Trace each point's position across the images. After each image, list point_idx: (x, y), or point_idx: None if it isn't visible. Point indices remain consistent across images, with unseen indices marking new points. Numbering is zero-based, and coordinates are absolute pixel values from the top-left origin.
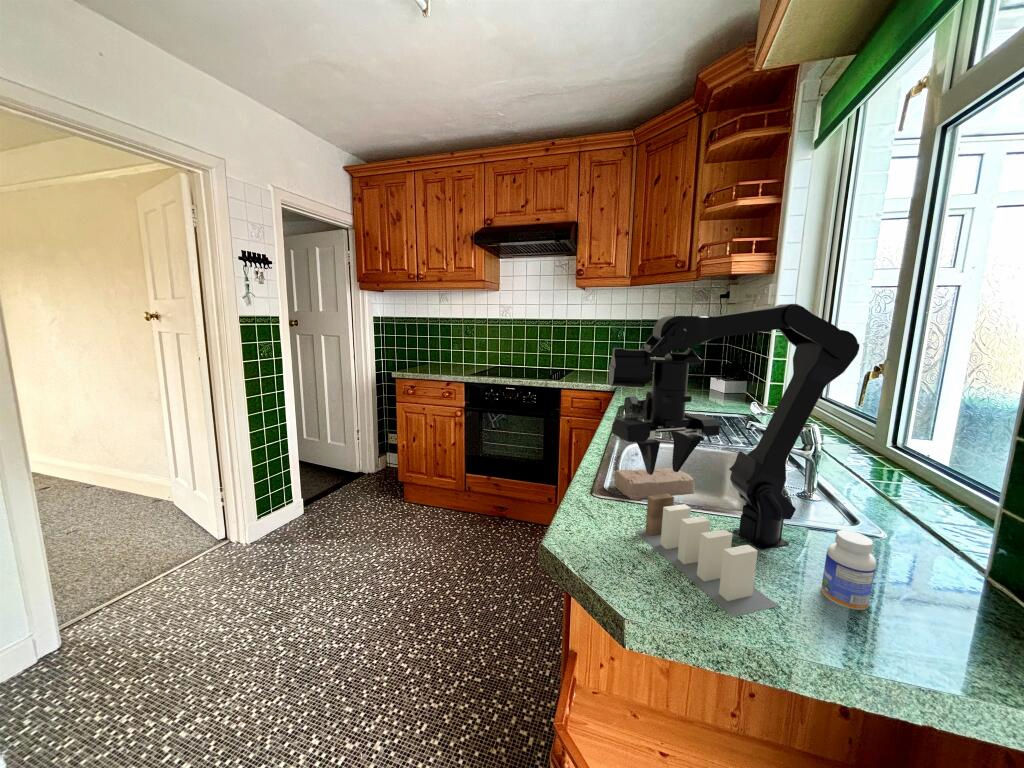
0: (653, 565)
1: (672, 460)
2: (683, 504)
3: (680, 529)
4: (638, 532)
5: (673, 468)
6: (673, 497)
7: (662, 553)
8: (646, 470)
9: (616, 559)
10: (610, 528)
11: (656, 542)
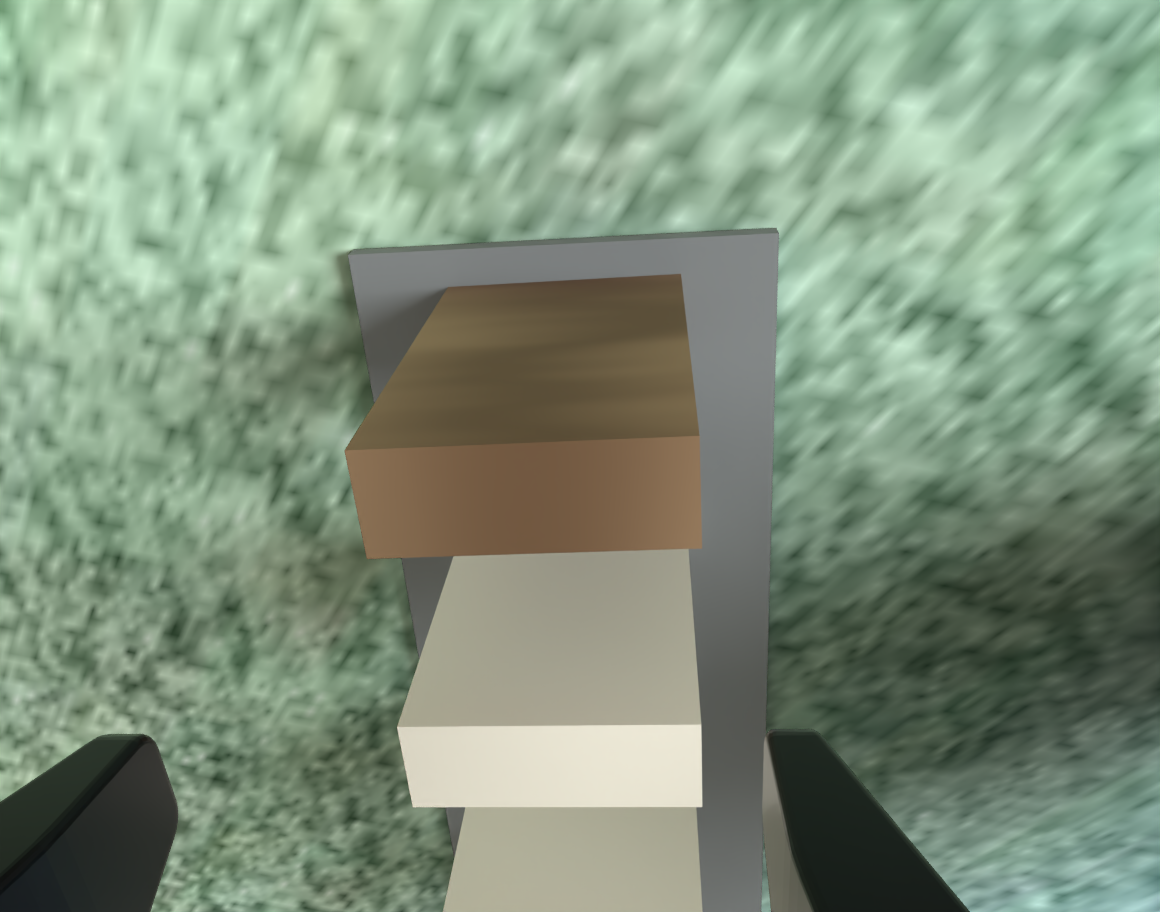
0: (310, 654)
1: (808, 888)
2: (680, 725)
3: (457, 853)
4: (372, 287)
5: (770, 784)
6: (694, 545)
7: (423, 594)
8: (60, 764)
9: (75, 551)
10: (141, 111)
11: None
